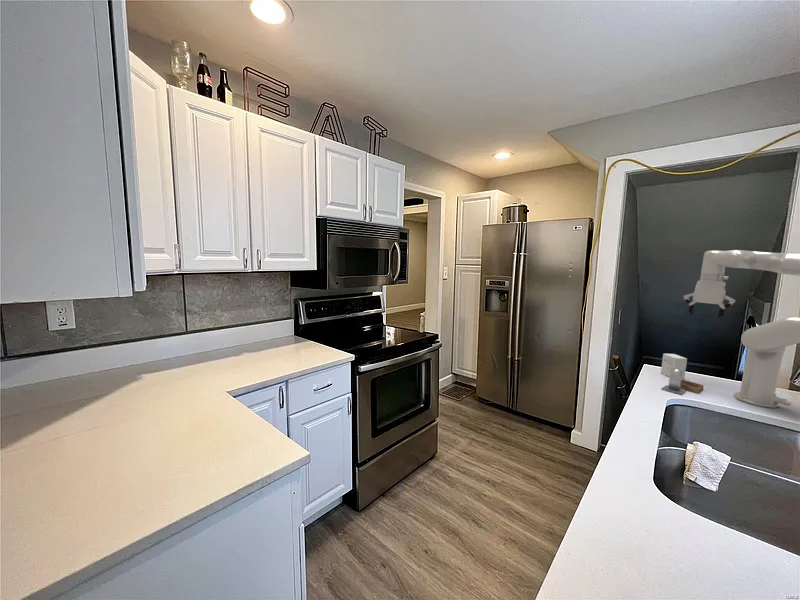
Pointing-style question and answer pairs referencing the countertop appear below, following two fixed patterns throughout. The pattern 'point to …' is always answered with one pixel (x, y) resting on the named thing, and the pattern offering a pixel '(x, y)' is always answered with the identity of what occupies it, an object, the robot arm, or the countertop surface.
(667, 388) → the pad
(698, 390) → the frame
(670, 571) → the countertop surface
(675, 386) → the peg
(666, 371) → the small box
